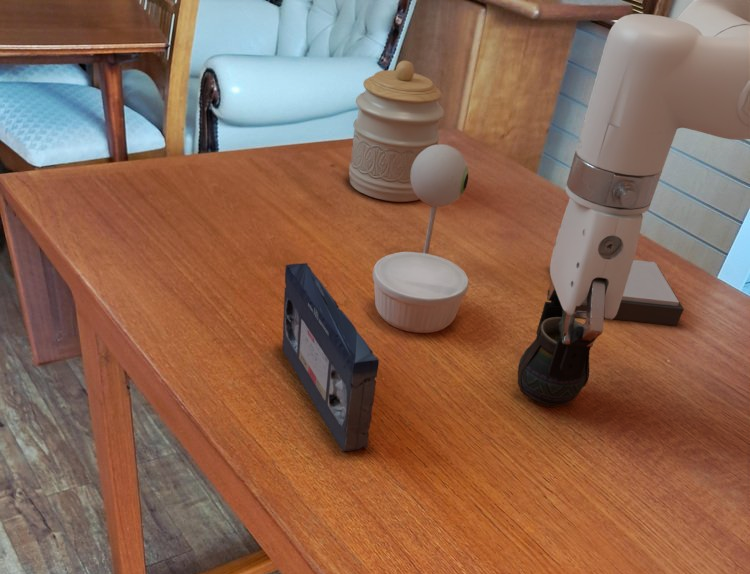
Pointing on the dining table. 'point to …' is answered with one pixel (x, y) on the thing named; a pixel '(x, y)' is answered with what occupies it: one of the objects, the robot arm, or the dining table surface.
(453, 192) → the lollipop
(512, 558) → the dining table surface
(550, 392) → the mate gourd
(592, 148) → the robot arm
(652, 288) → the scale
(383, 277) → the ramekin
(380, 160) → the jar
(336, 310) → the vhs cassette tape
